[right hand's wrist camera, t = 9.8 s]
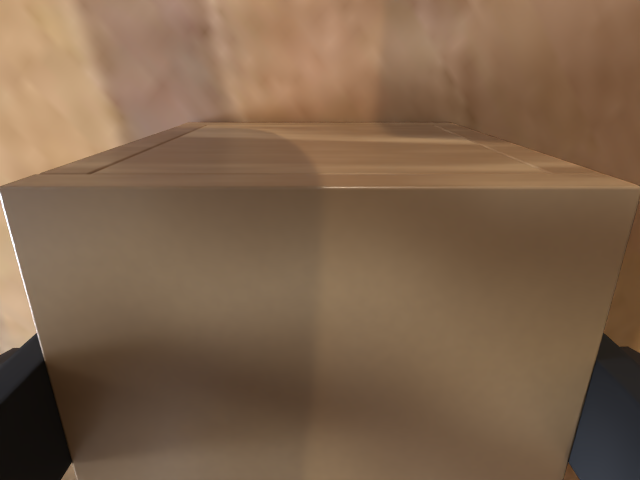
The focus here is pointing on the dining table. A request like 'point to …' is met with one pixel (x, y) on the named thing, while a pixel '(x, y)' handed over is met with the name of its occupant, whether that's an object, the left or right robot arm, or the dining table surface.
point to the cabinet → (320, 301)
